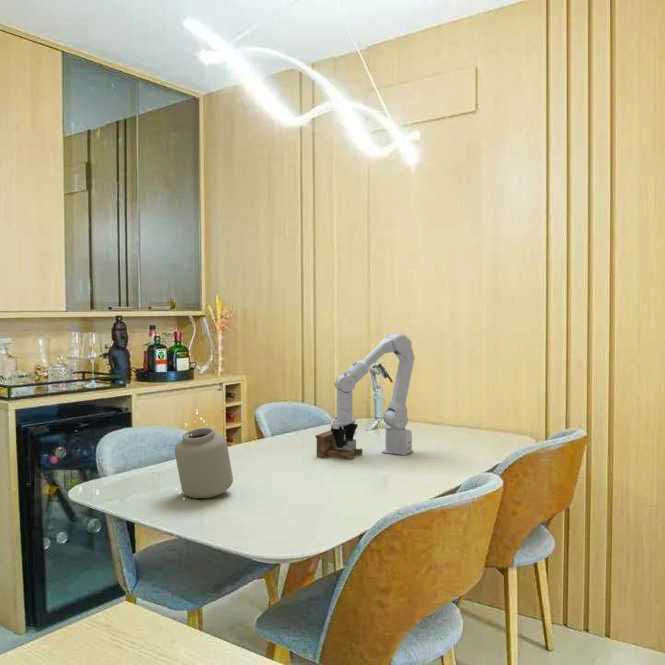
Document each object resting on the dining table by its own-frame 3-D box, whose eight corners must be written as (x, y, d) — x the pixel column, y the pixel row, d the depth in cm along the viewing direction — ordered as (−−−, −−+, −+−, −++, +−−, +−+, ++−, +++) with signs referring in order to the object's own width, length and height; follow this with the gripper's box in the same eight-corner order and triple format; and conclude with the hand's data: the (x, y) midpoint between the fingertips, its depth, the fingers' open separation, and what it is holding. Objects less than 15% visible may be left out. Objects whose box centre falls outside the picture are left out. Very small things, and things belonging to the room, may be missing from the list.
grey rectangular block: (356, 455, 241) (356, 439, 240) (351, 458, 237) (351, 441, 237) (336, 453, 244) (336, 437, 244) (331, 455, 241) (331, 439, 241)
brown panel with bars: (365, 453, 245) (365, 432, 244) (348, 461, 232) (348, 439, 231) (333, 449, 251) (333, 428, 250) (315, 457, 238) (315, 435, 237)
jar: (192, 508, 177) (192, 415, 176) (158, 498, 186) (157, 410, 185) (243, 492, 192) (243, 407, 191) (209, 484, 201) (209, 402, 200)
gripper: (343, 405, 248) (343, 440, 249) (325, 410, 235) (325, 448, 236) (360, 406, 245) (360, 442, 246) (343, 411, 232) (343, 450, 233)
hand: (344, 445), depth 240 cm, fingers open, 7 cm apart
